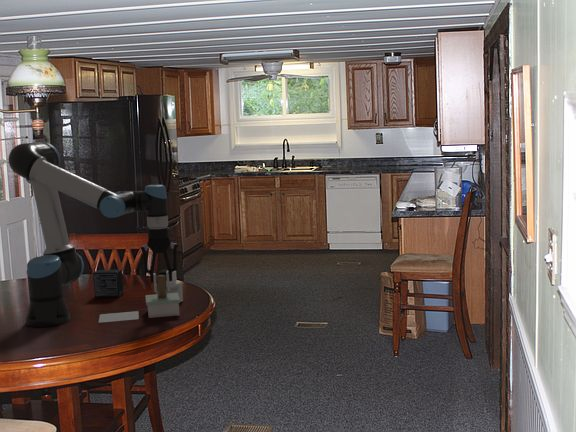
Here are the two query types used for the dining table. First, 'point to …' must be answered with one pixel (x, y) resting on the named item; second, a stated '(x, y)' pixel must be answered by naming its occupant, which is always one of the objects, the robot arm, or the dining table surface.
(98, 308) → the dining table surface
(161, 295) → the lid
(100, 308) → the dining table surface
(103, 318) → the mat
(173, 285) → the container
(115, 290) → the small box
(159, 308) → the dish
